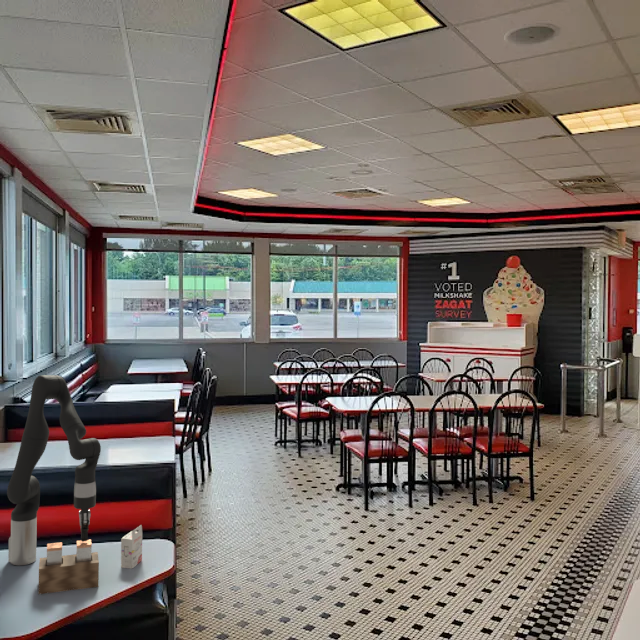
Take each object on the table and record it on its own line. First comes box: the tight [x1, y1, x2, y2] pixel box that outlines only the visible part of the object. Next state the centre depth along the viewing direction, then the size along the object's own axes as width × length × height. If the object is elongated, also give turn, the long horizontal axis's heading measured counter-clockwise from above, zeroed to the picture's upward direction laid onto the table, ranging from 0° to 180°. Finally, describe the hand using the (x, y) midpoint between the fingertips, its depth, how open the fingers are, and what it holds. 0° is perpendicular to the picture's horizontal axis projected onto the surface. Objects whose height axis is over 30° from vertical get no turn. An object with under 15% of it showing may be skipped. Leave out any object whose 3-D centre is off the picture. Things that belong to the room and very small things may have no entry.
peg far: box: [76, 539, 93, 563], centre depth 242 cm, size 5×5×9 cm
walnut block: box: [37, 551, 100, 595], centre depth 241 cm, size 20×10×9 cm, turn 111°
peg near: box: [46, 542, 63, 566], centre depth 239 cm, size 5×5×9 cm
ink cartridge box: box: [120, 524, 143, 570], centre depth 260 cm, size 9×5×15 cm, turn 168°
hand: (84, 540), depth 242 cm, fingers closed
